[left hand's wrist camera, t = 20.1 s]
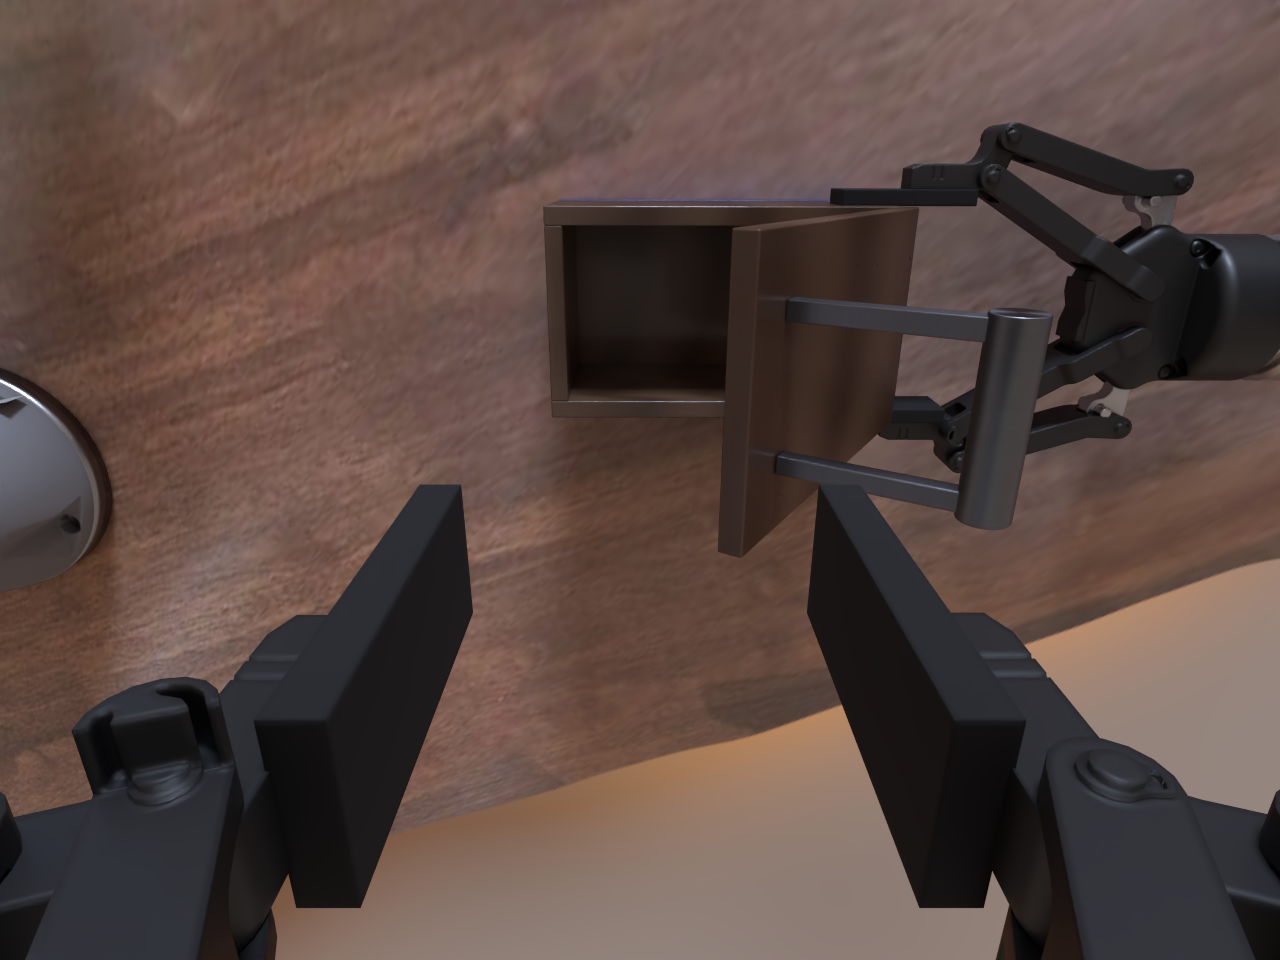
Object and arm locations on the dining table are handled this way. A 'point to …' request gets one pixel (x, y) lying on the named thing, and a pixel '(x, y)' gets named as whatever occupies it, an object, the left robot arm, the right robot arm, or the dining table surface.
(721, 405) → the chest
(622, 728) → the dining table surface
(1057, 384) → the right robot arm
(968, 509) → the lid
